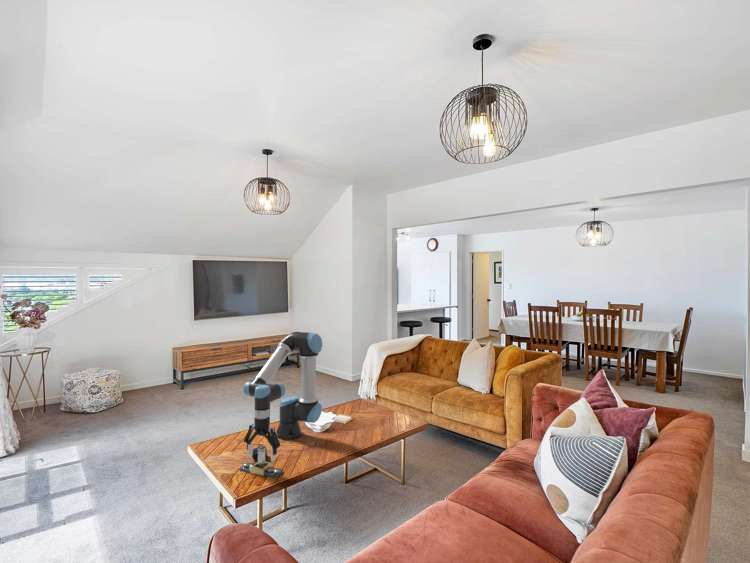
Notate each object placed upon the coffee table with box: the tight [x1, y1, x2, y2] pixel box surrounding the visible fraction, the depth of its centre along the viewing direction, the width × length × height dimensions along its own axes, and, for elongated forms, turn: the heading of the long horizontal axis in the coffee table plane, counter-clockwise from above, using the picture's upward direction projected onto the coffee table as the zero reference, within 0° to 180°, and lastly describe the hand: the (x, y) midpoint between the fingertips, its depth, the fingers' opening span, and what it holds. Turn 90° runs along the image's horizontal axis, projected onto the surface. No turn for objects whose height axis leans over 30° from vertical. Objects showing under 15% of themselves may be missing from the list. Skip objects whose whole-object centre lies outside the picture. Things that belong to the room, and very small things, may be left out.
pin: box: [256, 445, 267, 468], centre depth 196 cm, size 4×4×12 cm
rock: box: [251, 444, 269, 463], centre depth 210 cm, size 10×9×6 cm
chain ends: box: [239, 461, 284, 479], centre depth 196 cm, size 8×22×3 cm, turn 71°
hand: (261, 458), depth 196 cm, fingers open, 13 cm apart
